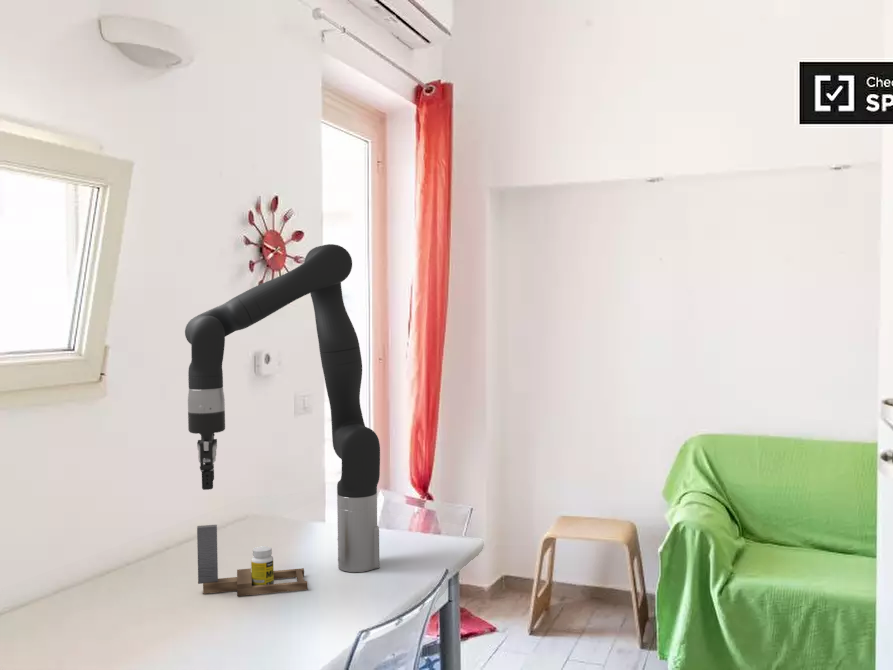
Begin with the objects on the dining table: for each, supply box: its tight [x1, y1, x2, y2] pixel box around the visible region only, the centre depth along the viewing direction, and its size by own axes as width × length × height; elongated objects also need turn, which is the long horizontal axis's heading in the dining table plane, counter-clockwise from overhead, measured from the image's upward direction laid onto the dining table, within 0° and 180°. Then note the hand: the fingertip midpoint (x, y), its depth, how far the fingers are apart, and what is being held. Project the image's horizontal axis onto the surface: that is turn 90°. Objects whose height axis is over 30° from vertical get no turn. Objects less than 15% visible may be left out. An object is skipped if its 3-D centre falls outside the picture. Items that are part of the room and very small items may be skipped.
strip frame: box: [196, 524, 309, 597], centre depth 176 cm, size 23×10×14 cm, turn 104°
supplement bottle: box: [250, 545, 275, 586], centre depth 176 cm, size 5×5×8 cm
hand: (208, 485), depth 173 cm, fingers open, 8 cm apart
